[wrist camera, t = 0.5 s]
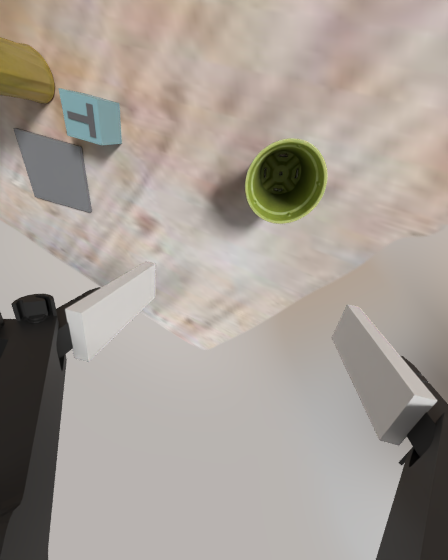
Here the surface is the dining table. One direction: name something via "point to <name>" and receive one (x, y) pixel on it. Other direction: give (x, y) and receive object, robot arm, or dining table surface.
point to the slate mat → (55, 169)
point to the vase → (24, 73)
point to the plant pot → (286, 181)
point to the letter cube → (91, 118)
